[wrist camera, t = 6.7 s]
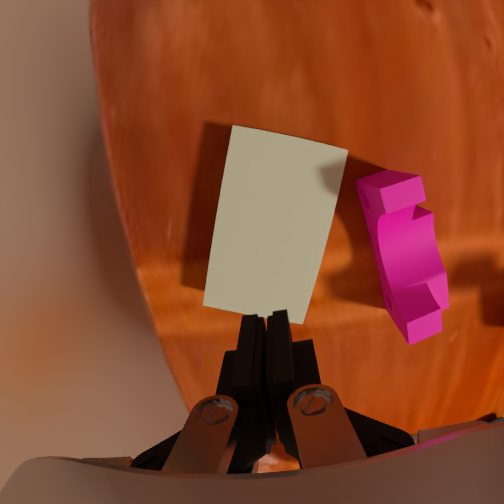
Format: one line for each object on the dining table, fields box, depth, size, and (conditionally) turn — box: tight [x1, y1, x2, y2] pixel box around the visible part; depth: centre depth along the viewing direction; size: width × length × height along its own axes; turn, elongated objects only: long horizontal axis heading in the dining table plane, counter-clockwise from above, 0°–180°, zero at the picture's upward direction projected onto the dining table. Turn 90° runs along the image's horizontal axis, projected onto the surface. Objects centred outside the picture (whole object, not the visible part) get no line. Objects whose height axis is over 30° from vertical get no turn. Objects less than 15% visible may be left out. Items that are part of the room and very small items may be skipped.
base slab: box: [203, 125, 348, 324], centre depth 28 cm, size 17×10×4 cm, turn 169°
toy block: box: [354, 170, 449, 345], centre depth 26 cm, size 15×6×8 cm, turn 21°
